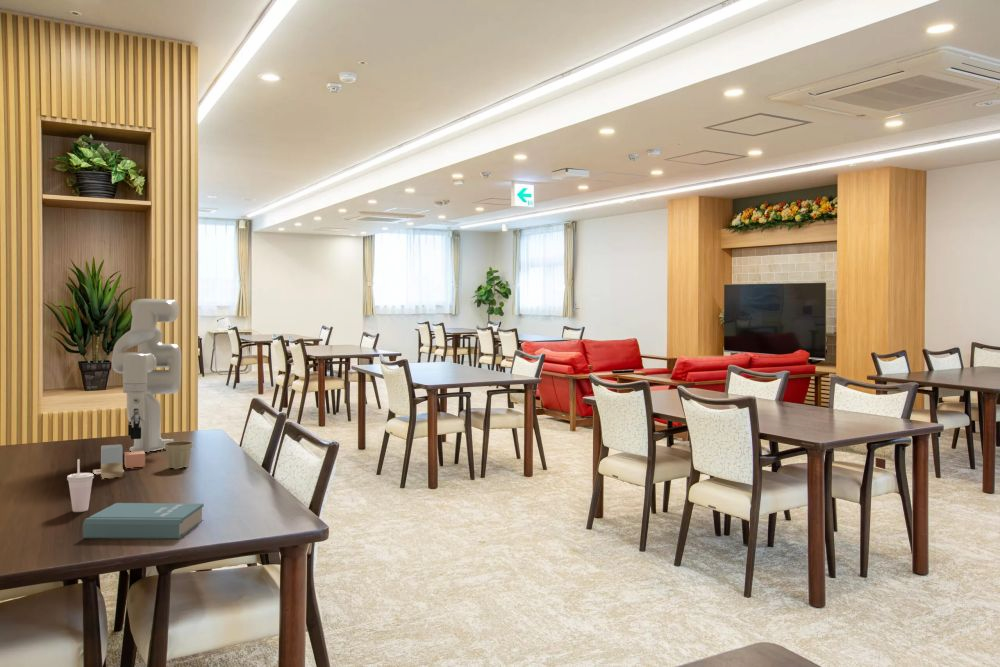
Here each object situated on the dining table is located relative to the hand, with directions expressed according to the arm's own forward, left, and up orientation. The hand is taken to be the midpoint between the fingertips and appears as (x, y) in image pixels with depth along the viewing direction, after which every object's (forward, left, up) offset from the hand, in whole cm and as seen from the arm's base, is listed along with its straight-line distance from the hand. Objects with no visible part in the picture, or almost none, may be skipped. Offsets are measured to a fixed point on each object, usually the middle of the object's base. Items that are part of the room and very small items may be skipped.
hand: (134, 437), depth 257 cm
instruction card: (+8, +4, -10) cm, 14 cm away
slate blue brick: (+8, +13, -6) cm, 16 cm away
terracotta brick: (0, -1, -11) cm, 11 cm away
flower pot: (-13, +8, -11) cm, 19 cm away
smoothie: (+18, +55, -11) cm, 59 cm away
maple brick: (+8, +13, -11) cm, 18 cm away
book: (+4, +83, -11) cm, 84 cm away
